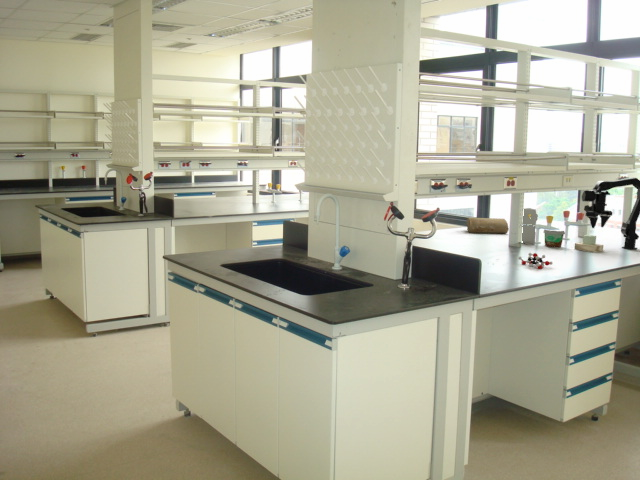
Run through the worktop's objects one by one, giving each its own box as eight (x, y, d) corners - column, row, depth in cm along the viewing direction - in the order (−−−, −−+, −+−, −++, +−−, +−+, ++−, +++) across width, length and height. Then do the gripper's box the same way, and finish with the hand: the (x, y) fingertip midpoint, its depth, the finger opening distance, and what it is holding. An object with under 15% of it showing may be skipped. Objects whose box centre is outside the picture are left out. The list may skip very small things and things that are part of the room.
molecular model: (543, 263, 316) (559, 263, 301) (524, 276, 314) (539, 276, 299) (533, 246, 316) (549, 245, 301) (514, 259, 314) (529, 258, 299)
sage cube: (588, 243, 363) (588, 234, 362) (595, 244, 359) (596, 236, 358) (582, 243, 360) (583, 235, 360) (590, 244, 356) (590, 236, 355)
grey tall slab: (535, 243, 377) (539, 208, 374) (534, 244, 374) (537, 209, 370) (518, 242, 382) (521, 207, 379) (516, 242, 379) (519, 207, 375)
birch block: (584, 248, 368) (584, 241, 367) (602, 251, 358) (603, 245, 357) (574, 249, 362) (574, 243, 362) (593, 253, 352) (593, 246, 352)
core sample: (508, 234, 414) (509, 220, 412) (469, 233, 413) (470, 219, 411) (501, 231, 428) (502, 217, 426) (464, 230, 427) (465, 216, 425)
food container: (540, 246, 368) (542, 230, 367) (542, 244, 374) (543, 228, 372) (562, 248, 363) (564, 231, 361) (563, 247, 368) (565, 230, 366)
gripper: (597, 200, 378) (594, 225, 380) (578, 201, 367) (576, 226, 370) (614, 202, 368) (611, 227, 371) (595, 203, 358) (593, 229, 361)
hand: (597, 227), depth 368 cm, fingers open, 9 cm apart
